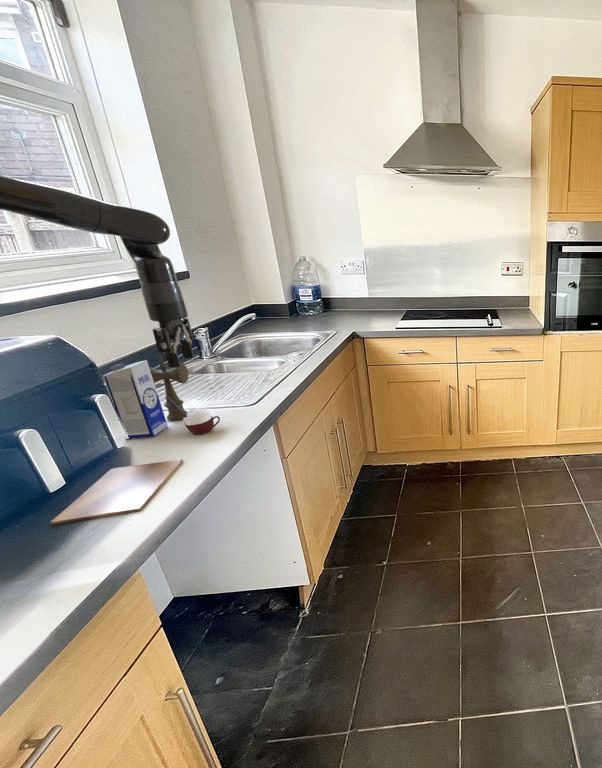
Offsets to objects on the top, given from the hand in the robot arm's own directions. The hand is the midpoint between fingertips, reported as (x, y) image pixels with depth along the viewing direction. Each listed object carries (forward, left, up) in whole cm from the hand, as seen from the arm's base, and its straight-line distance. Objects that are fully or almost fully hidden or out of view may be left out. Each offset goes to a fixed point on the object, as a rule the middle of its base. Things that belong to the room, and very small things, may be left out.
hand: (182, 362), depth 108 cm
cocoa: (0, 0, -20) cm, 20 cm away
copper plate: (-5, -27, -20) cm, 34 cm away
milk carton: (-14, +4, -20) cm, 25 cm away
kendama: (-10, +13, -20) cm, 26 cm away
